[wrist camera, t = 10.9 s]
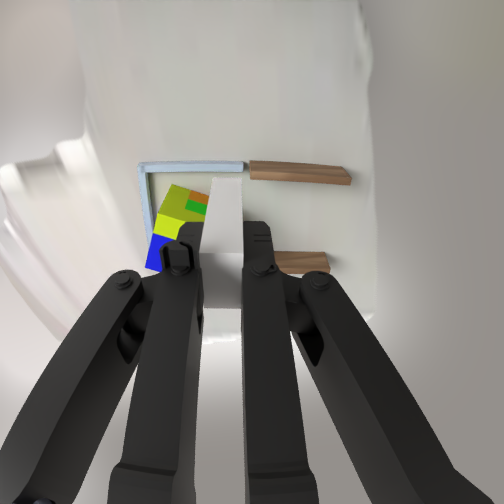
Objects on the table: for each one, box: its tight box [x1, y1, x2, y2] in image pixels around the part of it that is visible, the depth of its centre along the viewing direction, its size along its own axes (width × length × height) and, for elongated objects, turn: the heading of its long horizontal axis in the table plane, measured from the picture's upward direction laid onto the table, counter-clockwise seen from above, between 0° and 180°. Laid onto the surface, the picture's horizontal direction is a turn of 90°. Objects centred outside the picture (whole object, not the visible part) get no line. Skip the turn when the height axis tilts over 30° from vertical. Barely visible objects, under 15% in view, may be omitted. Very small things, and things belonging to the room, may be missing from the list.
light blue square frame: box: [137, 161, 243, 247], centre depth 49 cm, size 18×17×2 cm
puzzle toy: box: [145, 184, 209, 272], centre depth 46 cm, size 10×10×10 cm
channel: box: [249, 161, 352, 274], centre depth 49 cm, size 18×15×5 cm
